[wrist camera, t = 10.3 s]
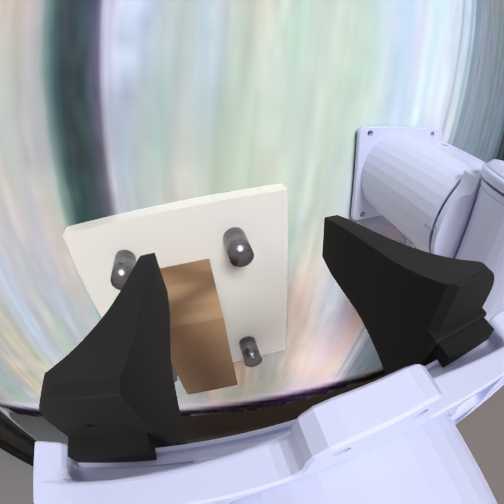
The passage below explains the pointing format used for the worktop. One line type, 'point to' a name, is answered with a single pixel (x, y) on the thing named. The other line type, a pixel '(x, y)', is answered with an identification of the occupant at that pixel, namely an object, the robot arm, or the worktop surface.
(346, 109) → the worktop surface
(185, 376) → the walnut block
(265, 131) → the worktop surface
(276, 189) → the plate
